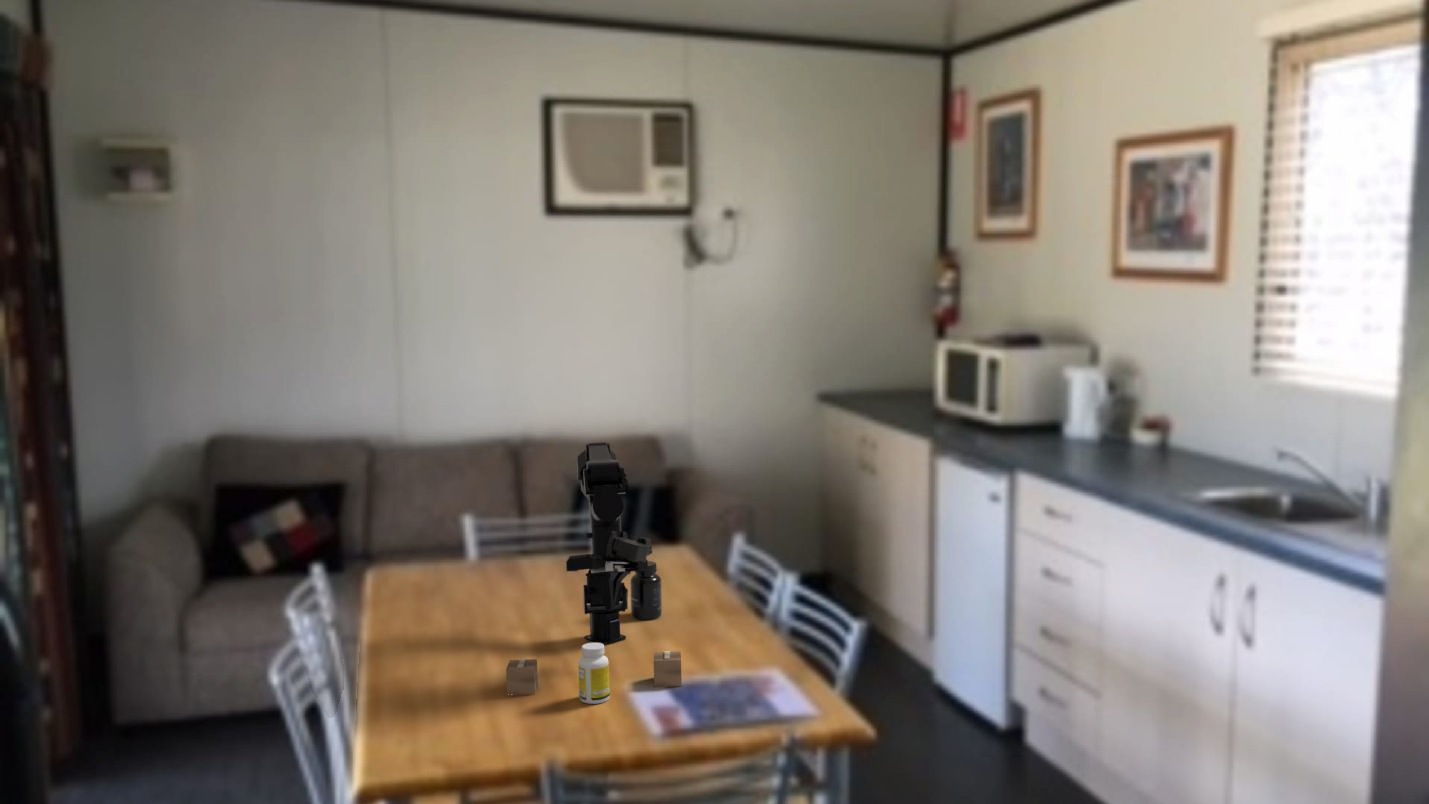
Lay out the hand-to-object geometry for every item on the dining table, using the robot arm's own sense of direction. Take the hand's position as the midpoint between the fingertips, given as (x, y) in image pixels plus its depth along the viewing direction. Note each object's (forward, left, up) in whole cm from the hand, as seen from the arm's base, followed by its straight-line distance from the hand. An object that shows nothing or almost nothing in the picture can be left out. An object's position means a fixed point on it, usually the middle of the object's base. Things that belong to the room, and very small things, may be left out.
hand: (610, 609), depth 217 cm
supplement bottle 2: (-25, +27, -13) cm, 39 cm away
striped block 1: (-4, -17, -13) cm, 22 cm away
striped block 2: (+11, +5, -13) cm, 17 cm away
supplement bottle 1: (+9, -10, -13) cm, 18 cm away
